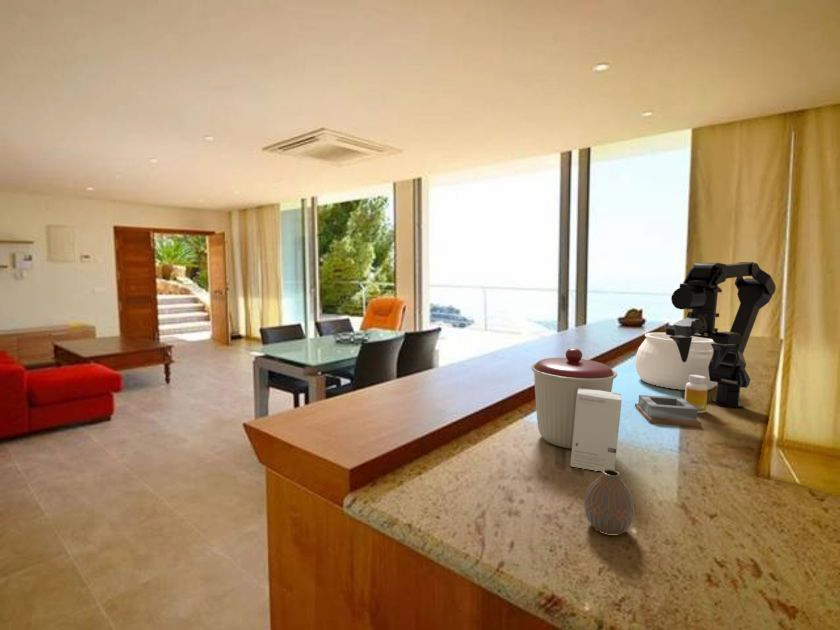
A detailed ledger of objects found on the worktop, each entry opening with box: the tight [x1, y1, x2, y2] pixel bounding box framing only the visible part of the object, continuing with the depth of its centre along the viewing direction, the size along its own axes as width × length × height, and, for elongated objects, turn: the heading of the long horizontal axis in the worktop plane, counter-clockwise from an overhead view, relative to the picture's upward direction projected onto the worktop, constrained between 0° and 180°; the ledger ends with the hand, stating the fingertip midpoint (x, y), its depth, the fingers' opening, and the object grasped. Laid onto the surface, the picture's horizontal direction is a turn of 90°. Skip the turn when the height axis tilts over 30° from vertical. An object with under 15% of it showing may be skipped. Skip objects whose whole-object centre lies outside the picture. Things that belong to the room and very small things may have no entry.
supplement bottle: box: [683, 375, 709, 414], centre depth 130 cm, size 5×5×10 cm
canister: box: [530, 348, 618, 450], centre depth 104 cm, size 18×18×21 cm
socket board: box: [634, 394, 702, 428], centre depth 125 cm, size 14×12×4 cm
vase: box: [583, 469, 636, 535], centre depth 69 cm, size 7×7×9 cm
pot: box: [634, 332, 717, 391], centre depth 161 cm, size 29×26×16 cm
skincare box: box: [569, 388, 622, 471], centre depth 91 cm, size 8×6×15 cm
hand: (698, 365), depth 129 cm, fingers open, 9 cm apart
